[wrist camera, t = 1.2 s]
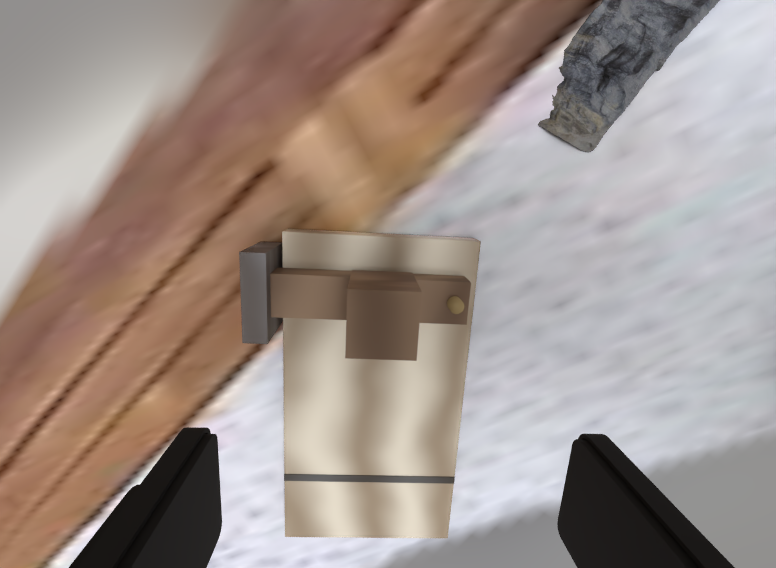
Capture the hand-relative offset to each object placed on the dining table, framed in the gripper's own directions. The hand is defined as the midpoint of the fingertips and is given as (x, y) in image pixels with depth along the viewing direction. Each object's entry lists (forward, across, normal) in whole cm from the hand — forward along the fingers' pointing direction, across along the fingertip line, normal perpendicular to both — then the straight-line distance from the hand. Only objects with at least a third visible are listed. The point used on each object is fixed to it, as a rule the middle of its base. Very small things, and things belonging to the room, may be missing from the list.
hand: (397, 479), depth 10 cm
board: (+21, 0, +9) cm, 23 cm away
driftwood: (+21, -18, -20) cm, 34 cm away
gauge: (+20, +1, 0) cm, 20 cm away
